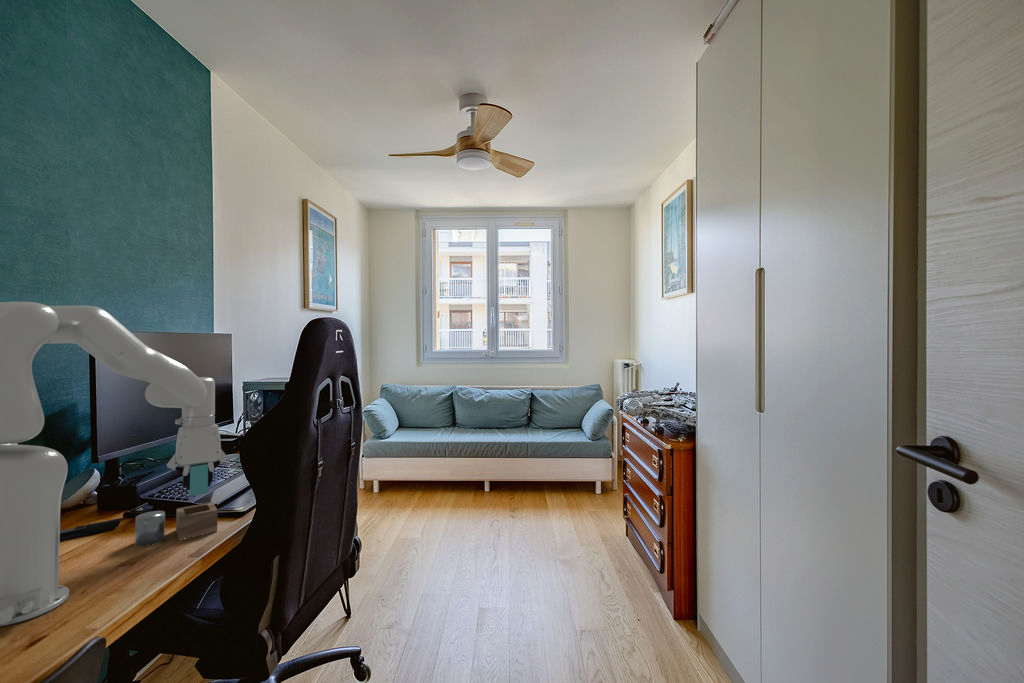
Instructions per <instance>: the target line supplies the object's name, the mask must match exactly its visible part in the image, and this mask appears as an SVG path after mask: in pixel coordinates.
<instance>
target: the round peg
mask: <svg viewBox="0 0 1024 683" xmlns="http://www.w3.org/2000/svg"><path fill="white" fill-rule="evenodd" d="M165 522H166V511H165V510H154V511H153V510H152V511H147V512H144V513H140V514H138V515H136V516H135V526H134V527H135V529H134V531H135V532H134V536H135V537H134V546H135V545H136V546H135V547H138V546H145V547H148V546H147V545H150V546H153V545H152V544H154V545H156V544H155V543H157V544H159V543H158V542H160V541H162V540H163V539H164V540H165V538H166V537H165V535H166V534H165V533H166V532H165V531H166V530H165V527H166V526H165V525H166V523H165ZM164 540H163V541H164ZM163 541H162V542H163ZM160 543H161V542H160Z"/></svg>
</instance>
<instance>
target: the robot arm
mask: <svg viewBox="0 0 1024 683" xmlns="http://www.w3.org/2000/svg"><path fill="white" fill-rule="evenodd" d="M49 344H76V345H77V346H78V347H79V348H81V349H83V351H86V352H87V353H88V354H90V355H91V356H92V357H93V358H95V359H96V360H97V361H98V362H100V363H101V364H103V365H104V366H105V367H106V368H108V369H109V370H111V371H112V372H113V373H116V374H119V375H121V376H124V377H128V378H130V379H135V380H140V381H142V382H147V383H150V384H149V385H148V386H147V387H146V389H145V391H144V397H145V400H146V402H148V403H149V404H150V405H152V406H154V407H158V408H169V409H170V408H172V409H173V408H174V409H181V417H180V418H178V419H177V418H176V419H175V422H174V424H175V425H179V426H181V427H179V428H178V431H177V436H176V443H175V453H174V454H173V456H172V457H171V459H170V460H169V461H168V463H166V467H167V468H169V469H170V470H174V471H175V472H177V473H179V474H181V475H182V486H183V487H184V488H186V490H187V491H188V490H189V489H190V475H189V468H190V465H192V464H199V463H206V462H207V464H208V487H211V483H213V482H214V471H215V469H217V467H219V466H220V465H221V464H222V463H223V462H225V461H226V460H228V455H227V454H226V453H225V452H224V450H223V449H222V445H221V443H222V442H221V435H220V434H221V433H220V428H219V425H218V424H216V421H215V420H216V419H215V418H216V416H215V415H216V382H215V380H214V378H212V377H208V376H202V377H201V376H198V375H197V374H195V373H194V372H193V371H192V370H191V369H189V368H188V367H187V366H185V365H183V364H182V363H180V362H178V361H177V360H175V359H173V358H171V357H169V356H167V355H165V354H163V353H161V352H159V351H157V350H155V349H153V348H151V347H149V346H147V345H146V344H145V343H144V342H143V341H141V339H139V338H138V337H136V335H135V334H133V333H132V332H131V331H130V330H128V329H127V328H126V327H125V326H124V325H123V324H121V323H120V322H119V321H118V320H117V319H116V318H115V317H114V316H113V315H111V314H110V313H109V312H107V310H104V309H102V308H101V307H99V306H94V305H84V304H83V305H46V304H44V303H39V302H33V301H5V302H3V301H1V302H0V627H4V626H9V625H14V624H18V623H21V622H24V621H28V620H30V619H33V618H36V617H38V616H41V615H43V614H45V613H47V612H49V611H52V610H54V609H55V608H57V607H59V606H60V605H62V604H63V603H64V602H65V601H67V599H68V598H69V597H70V588H69V587H68V586H65V585H61V584H60V585H59V582H60V543H61V542H60V541H61V540H60V531H61V506H62V505H61V504H62V503H61V502H62V496H63V490H64V488H65V484H66V481H67V476H68V471H69V470H68V467H69V466H68V462H67V460H66V458H65V457H64V455H63V454H62V453H60V452H59V451H58V450H56V449H54V448H50V447H46V446H41V445H29V444H19V443H23V442H27V441H29V440H31V439H34V438H35V437H37V436H38V435H39V434H40V433H41V432H42V430H43V428H44V426H45V415H44V414H45V413H44V410H43V407H42V404H41V400H40V397H39V394H38V390H37V385H36V382H35V379H34V375H33V366H32V365H33V361H34V358H35V356H36V355H37V352H38V351H39V350H40V348H42V347H43V345H49Z"/></svg>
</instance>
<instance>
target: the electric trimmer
mask: <svg viewBox="0 0 1024 683" xmlns="http://www.w3.org/2000/svg"><path fill="white" fill-rule="evenodd" d="M122 519H123V518H122V517H119V518H115V519H109V520H105V521H104V520H103V521H98V522H94V523H87V524H86V525H77V526H76V525H75V527H72V528H67V529H62V530H61V529H60V541H65V540H68V539H72V538H77V537H81V536H90V535H94V534H98V533H102V532H105V531H108V530H112V529H115V528H118V527H119V526H120V523H121V521H122Z"/></svg>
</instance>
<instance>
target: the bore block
mask: <svg viewBox="0 0 1024 683" xmlns="http://www.w3.org/2000/svg"><path fill="white" fill-rule="evenodd" d="M175 510H176V511H175V514H176V515H175V532H176V535H178V536H177V539H178V538H179V539H183V540H185V539H184V538H188V539H190V538H189V537H192V538H194V537H193V536H196V537H199V536H198V535H201V536H203V535H202V534H205V535H208V533H209V534H213V533H212V532H214V533H217V532H218V512H219V511H218V508H217V507H216V505H215V503H214V501H210V502H205V503H199V504H196V505H190V506H184V507H178V508H176V509H175ZM216 531H217V532H216ZM179 539H178V540H179Z"/></svg>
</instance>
